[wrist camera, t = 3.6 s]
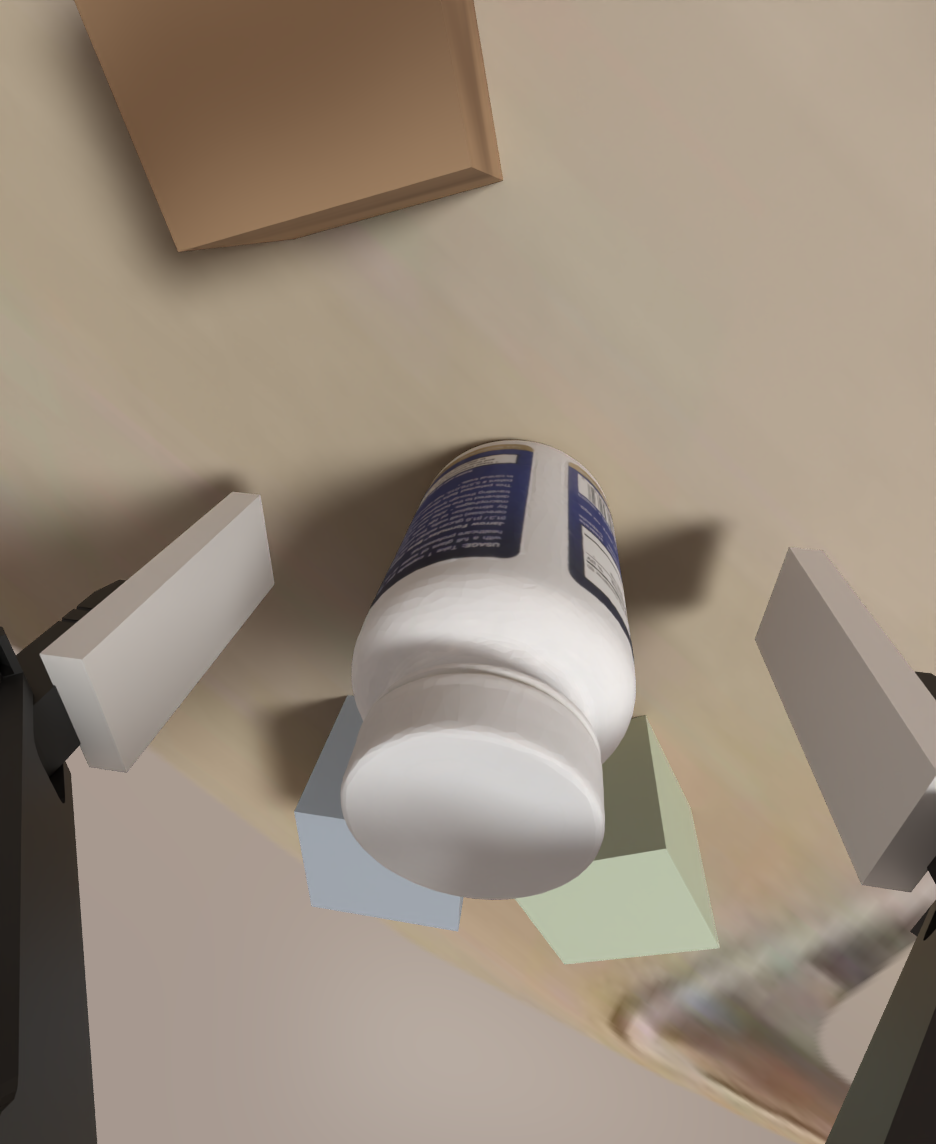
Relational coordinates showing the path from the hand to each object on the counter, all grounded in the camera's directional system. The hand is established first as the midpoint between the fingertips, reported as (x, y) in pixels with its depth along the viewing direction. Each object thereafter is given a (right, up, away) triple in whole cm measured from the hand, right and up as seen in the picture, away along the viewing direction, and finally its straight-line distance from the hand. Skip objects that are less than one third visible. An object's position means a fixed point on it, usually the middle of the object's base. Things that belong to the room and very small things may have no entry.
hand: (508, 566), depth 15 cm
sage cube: (+4, -8, +7) cm, 11 cm away
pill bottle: (0, +1, +2) cm, 2 cm away
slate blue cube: (-3, -7, +7) cm, 11 cm away
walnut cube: (-3, +10, -3) cm, 11 cm away
